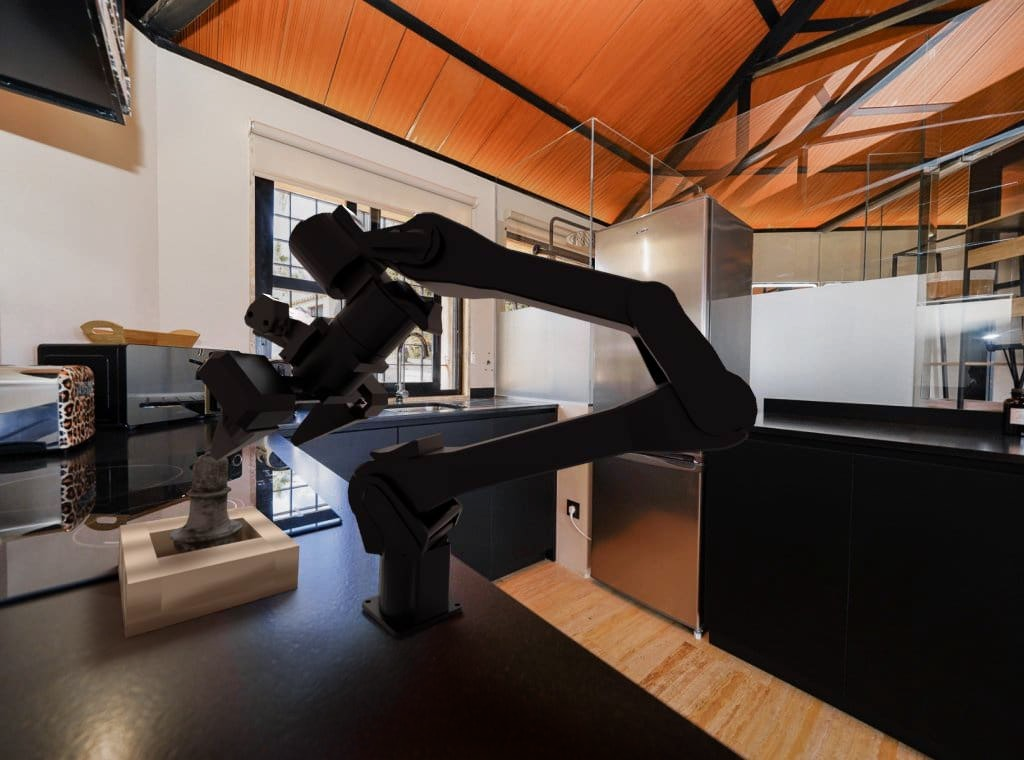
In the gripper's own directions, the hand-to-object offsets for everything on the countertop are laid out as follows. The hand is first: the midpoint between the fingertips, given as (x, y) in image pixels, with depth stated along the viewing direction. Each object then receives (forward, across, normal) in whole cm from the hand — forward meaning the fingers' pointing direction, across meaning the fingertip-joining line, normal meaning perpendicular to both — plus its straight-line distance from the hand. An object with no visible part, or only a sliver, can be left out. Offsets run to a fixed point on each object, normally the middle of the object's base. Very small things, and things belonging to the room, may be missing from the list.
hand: (258, 449), depth 40 cm
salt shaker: (+12, 0, +4) cm, 13 cm away
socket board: (+13, 0, +5) cm, 14 cm away
